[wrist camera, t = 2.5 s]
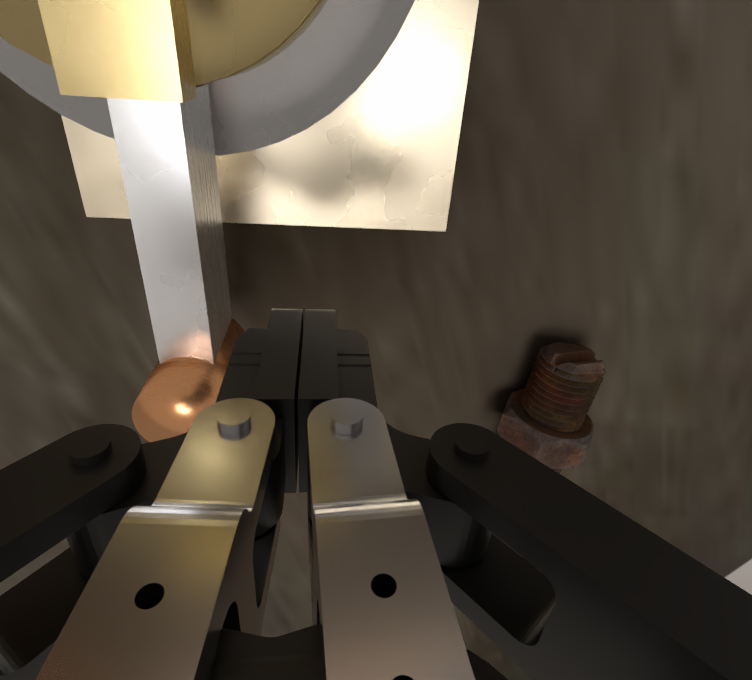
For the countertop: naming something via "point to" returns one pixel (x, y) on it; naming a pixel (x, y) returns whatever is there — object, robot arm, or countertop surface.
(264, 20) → the yellow disc with lever
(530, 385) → the bolt
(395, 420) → the countertop surface
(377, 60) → the cap housing
